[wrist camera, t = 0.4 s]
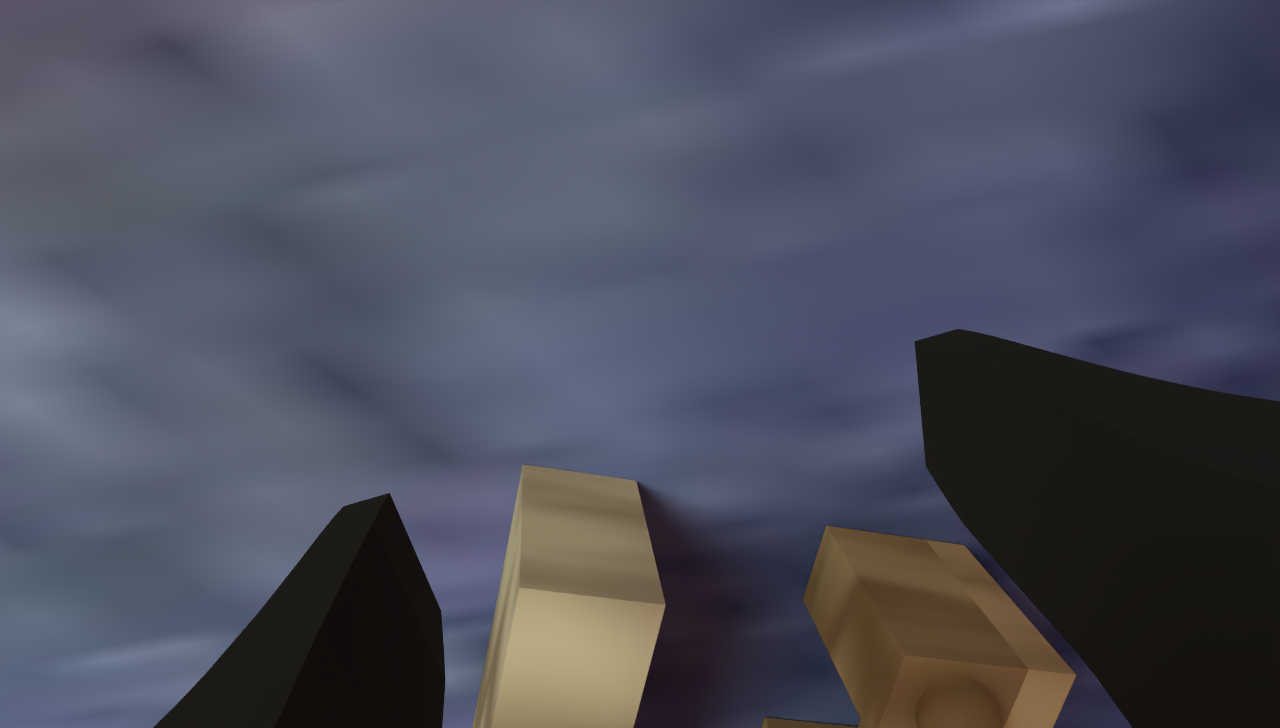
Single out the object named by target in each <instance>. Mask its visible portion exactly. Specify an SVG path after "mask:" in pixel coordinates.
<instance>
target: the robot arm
mask: <svg viewBox="0 0 1280 728" xmlns="http://www.w3.org/2000/svg"><path fill="white" fill-rule="evenodd" d="M915 350H916V362H917V373H918V384H919V395H920V406H921V417H922V428H923V439H924V450H925V461H926V467H927V469H928V471H929V472H930V474H931V475H932V477H933V478H934V480H935V482H936V483H937V485H938V486H939V488H940V489H941V491H942V493H943V494H944V496H945V497H946V499H947V500H948V502H949V503H950V505H951V506H952V508H953V509H954V511H955V512H956V514H957V515H958V517H959V518H960V519H961V521H962V522H963V524H964V525H965V526H966V527H967V528H968V530H969V531H970V532H971V533H972V534H973V536H974V537H975V538H976V539H977V540H978V541H979V542H980V544H981V545H982V546H983V547H984V548H985V549H986V550H987V552H988V553H989V554H990V555H991V556H992V557H993V558H994V560H995V561H996V562H997V563H998V564H999V565H1000V566H1001V568H1002V569H1003V570H1004V571H1005V572H1006V573H1007V574H1008V575H1009V577H1010V578H1011V579H1012V580H1013V581H1014V582H1015V583H1016V584H1017V586H1018V587H1019V588H1020V589H1021V590H1022V591H1023V592H1024V593H1025V595H1026V596H1027V597H1028V598H1029V599H1030V600H1031V601H1032V602H1033V604H1034V605H1035V606H1036V607H1037V608H1038V609H1039V610H1040V611H1041V613H1042V614H1043V615H1044V616H1045V617H1046V618H1047V619H1048V620H1049V622H1050V623H1051V624H1052V625H1053V626H1054V627H1055V628H1056V629H1057V631H1058V632H1059V633H1060V634H1061V635H1062V636H1063V637H1064V638H1065V639H1066V641H1067V642H1068V643H1069V644H1070V645H1071V646H1072V648H1073V649H1074V650H1075V651H1076V652H1077V654H1078V655H1079V656H1080V657H1081V659H1082V660H1083V661H1084V662H1085V664H1086V665H1087V666H1088V667H1089V668H1090V670H1091V671H1092V672H1093V673H1094V675H1095V676H1096V677H1097V679H1098V680H1099V681H1100V683H1101V684H1102V686H1103V687H1104V688H1105V690H1106V691H1107V693H1108V694H1109V695H1110V697H1111V698H1112V700H1113V701H1114V702H1115V704H1116V705H1117V707H1118V708H1119V709H1120V711H1121V712H1122V713H1123V715H1124V716H1125V718H1126V719H1127V720H1128V722H1129V723H1130V725H1131V726H1132V727H1133V728H1280V401H1273V400H1267V399H1260V398H1254V397H1247V396H1241V395H1234V394H1228V393H1222V392H1217V391H1211V390H1206V389H1200V388H1195V387H1191V386H1186V385H1181V384H1177V383H1172V382H1168V381H1163V380H1159V379H1154V378H1150V377H1145V376H1140V375H1136V374H1132V373H1128V372H1124V371H1120V370H1116V369H1112V368H1108V367H1104V366H1100V365H1097V364H1093V363H1089V362H1085V361H1082V360H1078V359H1074V358H1070V357H1067V356H1063V355H1060V354H1056V353H1052V352H1049V351H1045V350H1042V349H1038V348H1034V347H1031V346H1027V345H1024V344H1020V343H1016V342H1013V341H1009V340H1005V339H1001V338H998V337H994V336H990V335H986V334H981V333H977V332H972V331H967V330H961V329H956V330H953V331H949V332H946V333H942V334H939V335H935V336H932V337H928V338H925V339H921V340H918V341H915ZM444 692H445V664H444V645H443V631H442V617H441V610H440V607H439V605H438V603H437V601H436V598H435V596H434V594H433V591H432V589H431V587H430V585H429V582H428V580H427V578H426V575H425V573H424V571H423V568H422V566H421V564H420V562H419V559H418V557H417V555H416V552H415V550H414V548H413V546H412V543H411V541H410V539H409V536H408V534H407V532H406V530H405V527H404V525H403V523H402V520H401V518H400V516H399V514H398V511H397V509H396V507H395V504H394V502H393V500H392V498H391V495H390V493H388V494H385V495H381V496H378V497H374V498H371V499H367V500H364V501H360V502H357V503H354V504H350V505H347V506H344V507H343V508H342V509H341V510H340V511H339V512H338V513H337V514H336V515H335V516H334V518H333V519H332V520H331V521H330V522H329V524H328V525H327V526H326V527H325V529H324V530H323V531H322V532H321V534H320V535H319V536H318V538H317V539H316V540H315V541H314V543H313V544H312V545H311V547H310V548H309V549H308V550H307V552H306V553H305V554H304V556H303V557H302V558H301V560H300V561H299V562H298V563H297V565H296V566H295V567H294V569H293V570H292V571H291V572H290V574H289V575H288V576H287V577H286V579H285V580H284V581H283V582H282V584H281V585H280V586H279V588H278V589H277V590H276V591H275V593H274V594H273V595H272V596H271V598H270V599H269V600H268V601H267V603H266V604H265V605H264V606H263V608H262V609H261V610H260V611H259V613H258V614H257V615H256V616H255V617H254V618H253V620H252V621H251V622H250V623H249V624H248V625H247V627H246V628H245V629H244V630H243V631H242V632H241V634H240V635H239V636H238V637H237V638H236V639H235V640H234V642H233V643H232V644H231V645H230V646H229V647H228V649H227V650H226V651H225V652H224V653H223V654H222V656H221V657H220V658H219V659H218V660H217V661H216V662H215V664H214V665H213V666H212V667H211V668H210V669H209V671H208V672H207V673H206V674H205V675H204V676H203V677H202V678H201V679H200V680H199V682H198V683H197V684H196V685H195V686H194V687H193V688H192V689H191V690H190V691H189V692H188V693H187V694H186V695H185V696H184V697H183V698H182V699H181V700H180V701H179V702H178V704H177V705H176V706H175V707H174V708H173V709H172V710H171V711H170V712H169V713H168V714H167V715H166V716H165V717H164V718H162V719H161V720H160V721H159V722H158V723H157V724H156V725H155V726H154V727H153V728H442V721H443V707H444Z"/></svg>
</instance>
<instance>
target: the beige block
mask: <svg viewBox="0 0 1280 728" xmlns="http://www.w3.org/2000/svg"><path fill="white" fill-rule="evenodd" d="M665 606H666V604H665V600H664V596H663V592H662V587H661V583H660V579H659V575H658V571H657V566H656V562H655V558H654V554H653V549H652V545H651V541H650V537H649V532H648V528H647V524H646V520H645V516H644V511H643V507H642V503H641V499H640V494H639V490H638V486H637V482H636V481H634V480H627V479H620V478H613V477H606V476H599V475H593V474H586V473H579V472H572V471H565V470H558V469H551V468H544V467H537V466H530V465H523V468H522V473H521V478H520V483H519V488H518V494H517V499H516V504H515V509H514V514H513V520H512V525H511V530H510V535H509V540H508V546H507V551H506V556H505V561H504V566H503V572H502V577H501V582H500V587H499V593H498V598H497V603H496V608H495V613H494V619H493V624H492V629H491V634H490V639H489V645H488V650H487V655H486V660H485V665H484V671H483V676H482V681H481V686H480V691H479V697H478V702H477V707H476V712H475V718H474V723H473V728H633V727H634V724H635V720H636V716H637V712H638V708H639V705H640V701H641V697H642V693H643V689H644V686H645V682H646V678H647V674H648V670H649V667H650V663H651V659H652V655H653V651H654V648H655V644H656V640H657V636H658V632H659V629H660V625H661V621H662V617H663V613H664V610H665Z"/></svg>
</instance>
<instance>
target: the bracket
mask: <svg viewBox="0 0 1280 728" xmlns="http://www.w3.org/2000/svg"><path fill="white" fill-rule="evenodd" d="M803 601H804V603H805V605H806V607H807V609H808V611H809V613H810V615H811V617H812V619H813V621H814V623H815V625H816V627H817V629H818V632H819V634H820V636H821V638H822V640H823V642H824V644H825V646H826V648H827V650H828V652H829V654H830V656H831V658H832V660H833V662H834V665H835V667H836V669H837V671H838V673H839V675H840V677H841V679H842V681H843V683H844V685H845V687H846V689H847V691H848V693H849V695H850V697H851V700H852V702H853V704H854V706H855V708H856V710H857V712H858V714H859V716H860V718H861V719H860V722H859V725H858V727H855V726H845V725H835V724H825V723H815V722H805V721H795V720H785V719H775V718H764V722H763V725H762V728H1053V726H1054V724H1055V722H1056V720H1057V717H1058V715H1059V713H1060V711H1061V708H1062V706H1063V704H1064V702H1065V700H1066V697H1067V695H1068V693H1069V691H1070V688H1071V686H1072V684H1073V682H1074V680H1075V677H1076V674H1075V673H1074V672H1073V670H1072V669H1071V668H1070V667H1069V666H1068V665H1067V663H1066V662H1065V661H1064V660H1063V659H1062V658H1061V657H1060V655H1059V654H1058V653H1057V652H1056V651H1055V650H1054V648H1053V647H1052V646H1051V645H1050V644H1049V643H1048V641H1047V640H1046V639H1045V638H1044V637H1043V636H1042V635H1041V633H1040V632H1039V631H1038V630H1037V629H1036V628H1035V626H1034V625H1033V624H1032V623H1031V622H1030V621H1029V620H1028V618H1027V617H1026V616H1025V615H1024V614H1023V613H1022V611H1021V610H1020V609H1019V608H1018V607H1017V606H1016V605H1015V603H1014V602H1013V601H1012V600H1011V599H1010V598H1009V596H1008V595H1007V594H1006V593H1005V592H1004V591H1003V590H1002V588H1001V587H1000V586H999V585H998V584H997V583H996V581H995V580H994V579H993V578H992V577H991V576H990V575H989V573H988V572H987V571H986V570H985V569H984V568H983V566H982V565H981V564H980V563H979V562H978V561H977V560H976V558H975V557H974V556H973V555H972V554H971V553H970V551H969V550H968V549H967V548H966V547H965V546H964V545H959V544H952V543H945V542H938V541H931V540H924V539H917V538H910V537H903V536H895V535H888V534H881V533H874V532H867V531H860V530H853V529H846V528H839V527H832V526H826V528H825V531H824V534H823V537H822V541H821V544H820V547H819V550H818V553H817V556H816V559H815V562H814V565H813V569H812V572H811V575H810V578H809V581H808V584H807V587H806V590H805V594H804V597H803Z"/></svg>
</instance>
